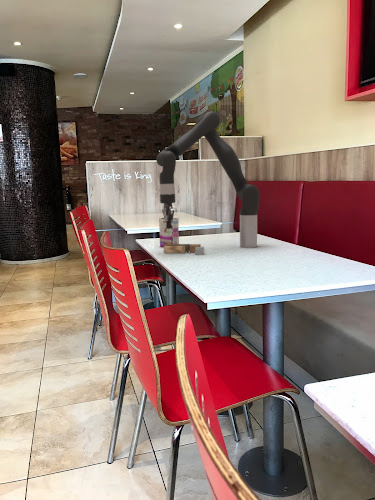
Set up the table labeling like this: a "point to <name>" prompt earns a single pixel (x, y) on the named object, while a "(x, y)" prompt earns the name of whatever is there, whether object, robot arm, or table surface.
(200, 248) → the collar
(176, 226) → the candy bar box
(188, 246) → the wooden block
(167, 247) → the block
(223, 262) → the table surface
